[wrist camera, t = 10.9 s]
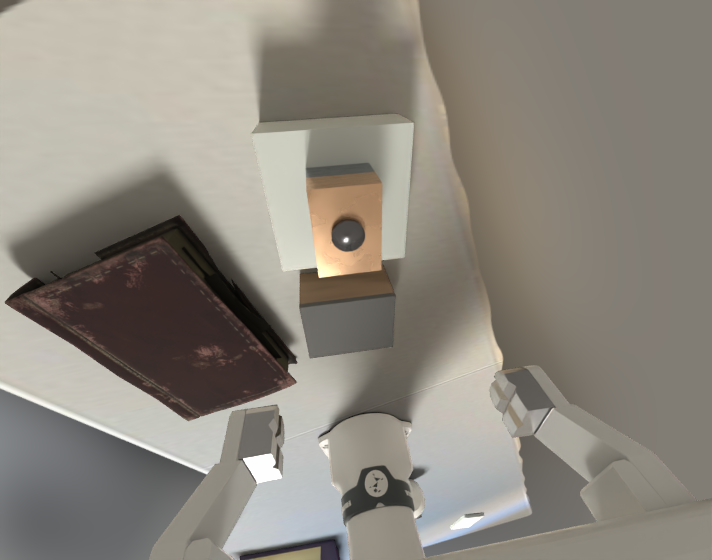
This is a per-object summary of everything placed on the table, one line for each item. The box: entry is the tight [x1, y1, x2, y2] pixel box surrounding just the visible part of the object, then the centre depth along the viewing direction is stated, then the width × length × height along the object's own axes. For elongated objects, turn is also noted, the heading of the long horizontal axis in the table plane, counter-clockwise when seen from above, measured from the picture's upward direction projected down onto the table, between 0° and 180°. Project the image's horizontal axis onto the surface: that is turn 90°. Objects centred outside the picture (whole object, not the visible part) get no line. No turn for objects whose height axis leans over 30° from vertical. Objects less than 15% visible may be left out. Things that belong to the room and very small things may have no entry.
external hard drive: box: [450, 513, 484, 529], centre depth 111 cm, size 2×8×12 cm
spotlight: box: [408, 479, 425, 518], centre depth 73 cm, size 8×11×8 cm
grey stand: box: [251, 114, 414, 271], centre depth 27 cm, size 12×12×5 cm
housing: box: [306, 163, 382, 278], centre depth 23 cm, size 5×7×5 cm
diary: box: [5, 215, 297, 421], centre depth 35 cm, size 19×25×5 cm
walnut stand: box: [299, 265, 396, 358], centre depth 35 cm, size 8×10×6 cm
